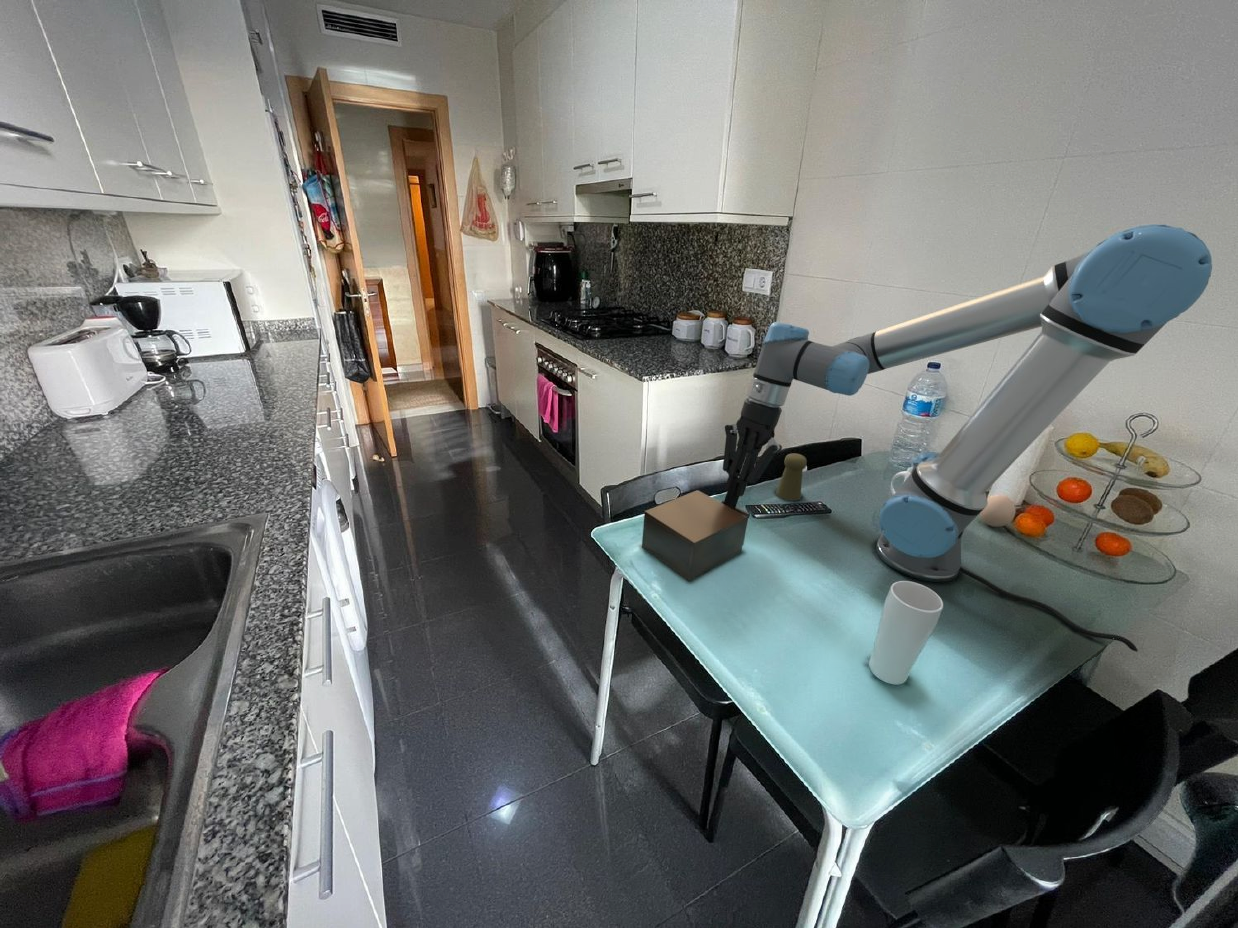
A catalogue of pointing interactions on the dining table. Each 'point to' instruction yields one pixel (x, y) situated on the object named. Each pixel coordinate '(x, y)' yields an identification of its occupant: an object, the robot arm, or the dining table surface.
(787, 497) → the olive pawn figure
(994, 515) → the egg
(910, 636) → the drinking glass
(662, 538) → the cabinet
